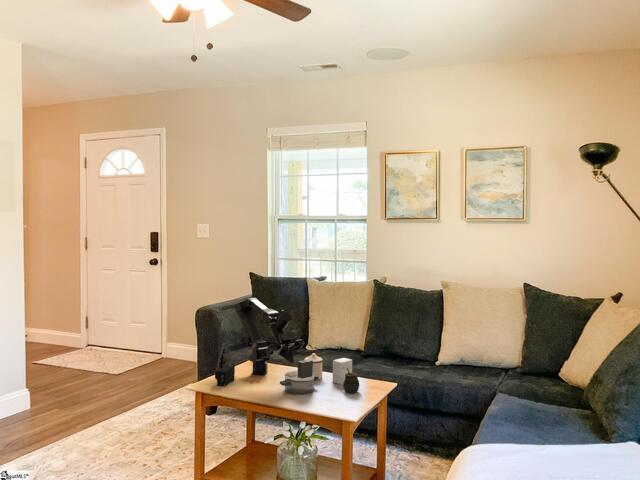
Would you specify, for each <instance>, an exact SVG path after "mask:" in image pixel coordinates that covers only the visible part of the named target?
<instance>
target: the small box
mask: <svg viewBox="0 0 640 480" xmlns="http://www.w3.org/2000/svg"><path fill="white" fill-rule="evenodd" d="M347 368H348V370H349V372H350V373H353V359H350V358H347V357H342V358H337V359H334V360H332V383H334V384H337V385H341V386H342V385H343V383H344V381H345V374H346V373H348V370H347Z"/></svg>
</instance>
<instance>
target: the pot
mask: <svg viewBox="0 0 640 480" xmlns="http://www.w3.org/2000/svg"><path fill="white" fill-rule="evenodd" d="M318 377H319V376H316V375H314V379H313V380H310V381H303V382H296V381H290V380H287V379H285V378H284V379H283V380H280V381H279V385H281V386H284V392H285V393H287V394H290V395H296V396H297V395H298V396H299V395H303V396H304V395H308V394H312V393H313V392H314V391H315V381H317V380H316V379H318Z"/></svg>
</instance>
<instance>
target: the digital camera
mask: <svg viewBox="0 0 640 480" xmlns="http://www.w3.org/2000/svg"><path fill="white" fill-rule="evenodd" d="M235 367H236V366H235V365H224V366H223V367H222V368H218V369H216V370H215V373H214V378H215V380H216V386H217V387H224V388H225V387H227V386H228V385H230V384H231V383H233V382H234V381H235V378H236V377H235Z"/></svg>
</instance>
